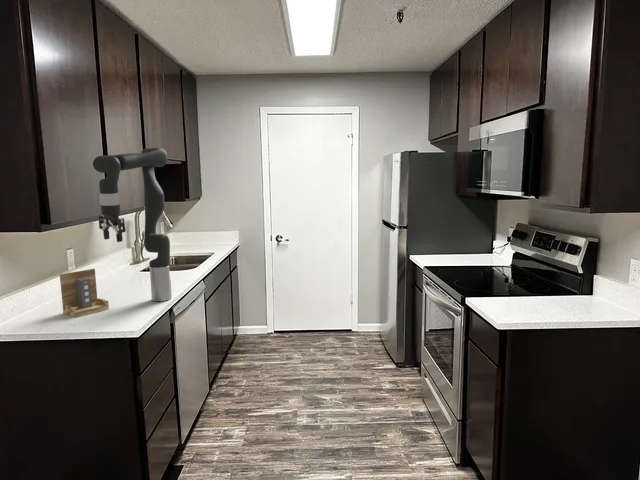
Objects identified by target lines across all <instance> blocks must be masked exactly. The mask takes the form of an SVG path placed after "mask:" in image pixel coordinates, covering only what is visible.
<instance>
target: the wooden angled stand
mask: <svg viewBox="0 0 640 480" xmlns="http://www.w3.org/2000/svg"><path fill="white" fill-rule="evenodd" d="M80 278H88V279H90V285H91V297H92V307H88V308H84V309H83V308H80V307H78V301H77V290H76V279H80ZM96 278H97V277H96V269H95V268H90V269H84V270H83V269H82V270H79V271H73V272H66V273H61V274H59V282H60V292H61V302H62V303H61V304H62V313H63V314H64V315H66V316H70V317H73V318H79V317H83V316H86V315H87V316H88V315H91V314H95V313H98V312H103V311H107V310H110V306H109V305H110V303H109V300H107V299H103V298H100V297H98V291H97V290H98V289H97V282H96V281H97V279H96Z"/></svg>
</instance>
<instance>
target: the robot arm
mask: <svg viewBox="0 0 640 480" xmlns="http://www.w3.org/2000/svg"><path fill="white" fill-rule="evenodd" d="M167 163H168V153H167V151H166V150H165V149H164V148H161V147H146V148H144V149H142V151H141V152H130V153H129V152H128V153H120V154H119V153H118V154H111V155H110V154H109V155H107V154H106V155H98V156H96V157H95V158H94V159H93V161H92V166H93V169H94V170H95V171H96V172H98V173H103V174H106V177H105V178H101V179H100V180H99V182H98V185H99V186H98V187H99V204H100V205H99V206H100V214H101V215H98V228H99V230H102V233H103V239H104V240H109V239H110V228H111V229H113V230H114V231H115V233H116V234H115V236H116V242H117V243H120V242H123V233H125V232H127V231H126V223H125V218H124V217H121V218H120V217H119V216H120V215H121V203H120V202H121V201H120V199H121V198H120V195H119V179H120V174H121V171H128V170H133V169H138V168H141V170H142V177H143V178H142V179H143V190H144V191H143V193H144V194H143V199H144V201H143V202H144V204H143V205H144V235H143V236H144V237H143V238H144V239H143V243H144V244H143V245H144V248H145V251H146V252H148V253H157V257H156V258H153V259H151V260H150V261H149V263H148V264H149V278H150V280H149V281H150V294H151V296H150V297H151V301H152V302H155V301H161V302H167V301H169V300H171V299H172V296H173V295H172V279H171V272H170V260H171V243H170V238H169V236H168V235H167V234H163V233H157V224H158V221H159V219H160V217H161V216H162V214H163V212H164V210H165V193H164V191H163V189H162V187H161V186H160V184H159V182H158V181H157V178H156V176H155V174H156V173H155V168H160V167H161V168H162V167H164V166H166V165H167ZM166 300H167V301H166Z"/></svg>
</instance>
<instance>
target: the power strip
mask: <svg viewBox="0 0 640 480" xmlns="http://www.w3.org/2000/svg"><path fill="white" fill-rule="evenodd" d="M76 290H77V301H78V307H80V308H83V309H84V308H88V307H92V297H91V285H90V279H88V278H80V279H76Z"/></svg>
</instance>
